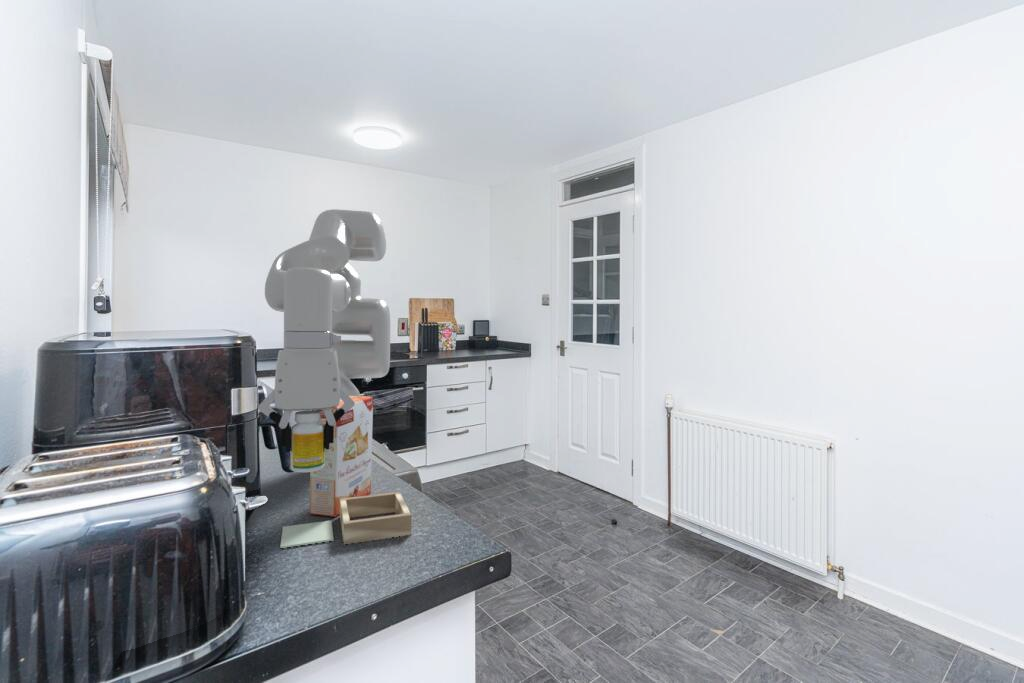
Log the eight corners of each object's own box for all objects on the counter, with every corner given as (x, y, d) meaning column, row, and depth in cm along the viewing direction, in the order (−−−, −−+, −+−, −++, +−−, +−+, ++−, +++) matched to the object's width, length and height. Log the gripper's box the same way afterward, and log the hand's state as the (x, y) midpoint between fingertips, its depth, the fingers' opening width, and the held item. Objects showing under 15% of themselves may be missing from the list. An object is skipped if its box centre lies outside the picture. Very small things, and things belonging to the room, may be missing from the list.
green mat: (282, 528, 84) (282, 526, 84) (331, 522, 88) (331, 520, 87) (280, 549, 77) (280, 546, 77) (333, 541, 80) (333, 538, 80)
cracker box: (337, 518, 89) (338, 406, 88) (308, 515, 90) (308, 404, 90) (373, 492, 103) (374, 395, 102) (347, 490, 104) (348, 394, 103)
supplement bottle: (285, 467, 82) (285, 411, 81) (317, 461, 85) (317, 408, 85) (297, 475, 78) (297, 416, 78) (330, 468, 82) (330, 412, 81)
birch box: (339, 517, 90) (339, 498, 90) (399, 509, 94) (399, 491, 94) (343, 545, 79) (343, 524, 79) (411, 534, 83) (411, 514, 83)
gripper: (359, 341, 88) (358, 440, 88) (253, 341, 81) (253, 447, 82) (363, 343, 81) (362, 450, 81) (247, 343, 74) (247, 459, 75)
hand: (307, 447), depth 82 cm, fingers closed on supplement bottle, 5 cm apart
